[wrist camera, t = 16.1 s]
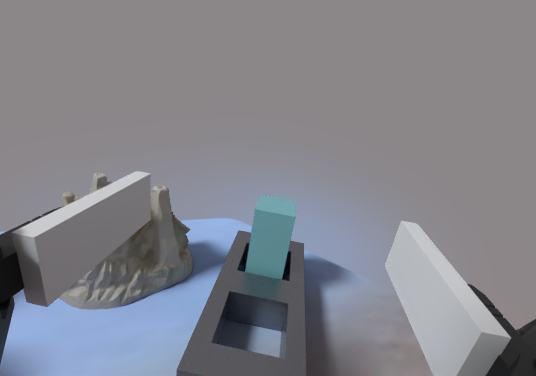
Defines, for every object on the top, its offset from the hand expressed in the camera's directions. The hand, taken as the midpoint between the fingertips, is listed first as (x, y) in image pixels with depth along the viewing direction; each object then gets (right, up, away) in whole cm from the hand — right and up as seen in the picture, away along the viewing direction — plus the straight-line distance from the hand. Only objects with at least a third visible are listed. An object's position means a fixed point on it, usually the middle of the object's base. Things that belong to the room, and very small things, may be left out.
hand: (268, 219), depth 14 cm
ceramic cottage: (-19, -9, +23) cm, 31 cm away
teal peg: (-1, -11, +23) cm, 25 cm away
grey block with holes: (-1, -13, +18) cm, 22 cm away
